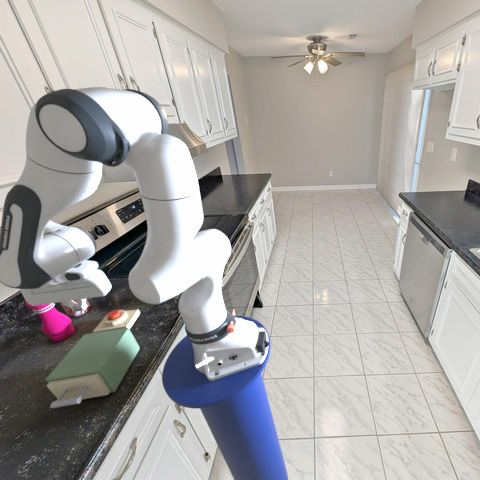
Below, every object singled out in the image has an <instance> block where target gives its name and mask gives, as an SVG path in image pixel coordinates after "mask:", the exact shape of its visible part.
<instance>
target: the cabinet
mask: <svg viewBox="0 0 480 480" xmlns="http://www.w3.org/2000/svg"><path fill="white" fill-rule="evenodd" d="M140 349H141V348H140V345H139V344H138V342H137V340H136V338H135V336H134V335H133V333H132V330H131V328H130V329H129V328H124V329H117V330H111V331H104V332H97V333H93V332H91V333H84V334H83V335H82V336H81V337H80V338H79V340H78V341H77V342H76V343H75V344H74V346H72V348H71V349H70V350H69V351H68V353H67V354H66V355H65V356H64V357H63V359H61V360H60V362H59V363H58V364H57V365H56V366H55V367H54V369H53V370H52V371H51V372H50V373H49V375H47V377H46V378H45V381H46V382H47V384H48V383H49V382H50V381H56V380H61V379H66V378H72V377H78V376H84V375H90V374H95V373H98V374H99V375H100V376H101V378H102V379H103V380H104V382H105V383H106V385H107V386H108V387H109V389H110V390H111V391H110V393H109V394H113V393H115V392H116V391H117V389H118V387H119V386H120V384H121V382H122V381H123V379H124V377H125V375H126V373H127V372H128V371H129V369H130V367H131V365H132V363H133V362H134V359H135V358H136V357H137V354H138V353H139V351H140Z"/></svg>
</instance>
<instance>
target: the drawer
mask: <svg viewBox="0 0 480 480" xmlns="http://www.w3.org/2000/svg"><path fill="white" fill-rule="evenodd" d="M46 388H47V389H48V390H49V391H50V392H51V393H52V395H54V396H55V397H56V400H54V401H53V400H52V402H51V403H50V407H49V408H50V409H57V408H63V407H68V406H74V405H79V404H80V403H82V401H83V400H87V399H92V398H93V399H94V398H99V397H104V396H108V395H110V394H111V393H110V391H111V390H110V389H109V387H108V386H107V385H106V383H105V382H104V380H103V379H102V378H101V376H100V375H99V374H98V373H95V374H90V375H84V376H78V377H72V378H66V379H61V380H56V381H50V382H49V383H48V382H47V384H46Z"/></svg>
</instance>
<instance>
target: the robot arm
mask: <svg viewBox="0 0 480 480" xmlns="http://www.w3.org/2000/svg"><path fill="white" fill-rule="evenodd" d="M27 119H28V120H27V123H26V133H25V154H26V157H25V164H24V167H23V170H22V172H21V174H20V176H19V179H17V181H16V182H15V184H14V185H13V186H12V187H11V188H10V189H9V191H8V192H7V194H6V196H5V199H4V203H3V210H2V216H1V224H0V283H1V284H3V285H4V286H5V287H8V288H11V289H17V290H20V292H21V294H22V297H23V298H24V301H25V300H26V302H27V303H28V304H30V305H32V306H37V305H44V304H51V303H54V304H57V303H59V302H62V303H63V305H65V306H67V307H69V308H71V309H72V311H73V312H76V311H82V310H86V308H87V305H86V303H85V302H86V299H87V300H88V299H94V298H103V297H105V296H107V294H109V292H111V289H112V283H111V282H110V280H109V279H108V277H107V275H106V274H105V272H104V271H103V270H101V269H99V263H98V262H97V261H95V260H89V259H90V258H92V257H93V256H94V255H95V254H96V252H97V242H96V239H95V237H94V236H93V235H92V234H91V232H89V231H88V230H86V229H85V228H82V227H79V226H73V225H69V226H68V225H63V224H60V223H57V222H54V221H52V219H54V218H55V217H56V216H57V215H59V214H60V213H62V212H63V211H65V210H66V209H68V208H70V207H71V206H74V205H75V204H78V203H80V202H81V201H84V200H85V199H87V198H88V197H90V196H91V195H92V194H94V193H95V191H96V190H97V189H98V186H99V184H100V182H101V180H102V176H103V166H106V167H112V168H115V167H118V166H120V165H122V163H124V164H126V165H127V166H128V167H129V168H130V169H131V171H132V172H133V174H134V177H135V180H136V183H137V187H138V192H139V195H140V199H141V202H142V206H143V211H144V214H145V219H146V225H147V227H146V228H147V233H146V239H145V243H144V246H143V250H142V252H141V254H140V257H139V258H138V260H137V261H136V263H135V265H134V266H133V267H132V268H131V269H130V271H129V274H128V286H129V289H130V291H131V293H132V294H133V295H134V296H135V298H137V300H140V301H141V302H143V303H145V304H149V305H159V304H162V303H164V302H167V301H168V300H171V299H173V298H175V297H177V296H179V295H180V294H181V295H180V297H179V300H178V312H179V315H180V316H181V317H180V318H181V319H182V322H183V324H184V330H185V333H186V336H188V339H189V340H190V341H191V342H192V346H193V350H194V364H195V367H196V369H197V370H198V371H200V372H201V373H204V374H205V375H206V377H207V378H208V380H209V381H214V380H217V379H220V378H223V377H226V376H228V375H231V374H234V373H237V372H240V371H243V370H246V369H249V368H252V367H255V366H258V365H260V364H262V363H263V361H264V360H265V358H266V355H267V352H268V345H269V342H268V335H267V333H266V331H265V329H266V328H265V329H264V328H257V326H256V324H255V323H253V322H252V321H247V320H243V319H242V318H236V317H235V316H236V312H235V311H236V310H235V309H233V310H232V313H231V312H230V311H229V310H228V309H227V308H226V306H225V302H224V301H225V300H224V298H223V292H222V283H223V275H224V271H225V266H226V264H227V261H228V260H229V258H230V256H231V254H232V245H231V242H230V240H229V238H228V236H227V235H226V234H225V233H224V232H222V231H221V230H219V229H217V228H209V229H205V230H201V231H200V229H201V227H202V226H203V223H204V210H203V204H202V198H201V192H200V185H199V179H198V175H197V172H196V168H195V164H194V161H193V158H192V156H191V153H190V150H189V148H188V146H187V145H186V143H185V142H184V141H182V140H181V139H180V138H178V137H176V136H174V135H170V134H167V133H168V130H169V119H168V116H167V113H166V111H165V109H164V108H163V106H162V104H161V103H160V102H159V101H158V100H157V99H156V98H154V97H153V96H151V95H150V94H148V93H145V92H143V91H140V90H137V89H132V88H125V89H120V88H109V87H105V86H92V87H91V86H88V87H81V88H74V89H73V88H62V89H57V90H53V91H50V92H48V93H45V94H44V95H42V96H41V97H39V99H38V100H37V101H36V103H34V105H32V106H31V108H30V110H29V115H28V118H27ZM73 300H76V301H77V302H79V303H76V302H74V301H73ZM217 374H218V375H217Z"/></svg>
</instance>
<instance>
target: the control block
mask: <svg viewBox="0 0 480 480" xmlns="http://www.w3.org/2000/svg"><path fill="white" fill-rule="evenodd" d="M118 310H119V312H120V314H121V315H120V317H118V318H117V319H114V320H109V319H108V317H107V314H106V315H105V316H104V318H102V320H101V321H100V322H99V323H98V325H97V326H96V327H95V328H94V330H93V331H92V333H97V332H104V331H111V330H117V329H124V328H129V329H130V330H131V329H132V328H133V325H134V324H135V322H136V321H137V319H138V318H139V317H140V315H141V311H140V310H139V308H137V309H130V310H125V309H118Z"/></svg>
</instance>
